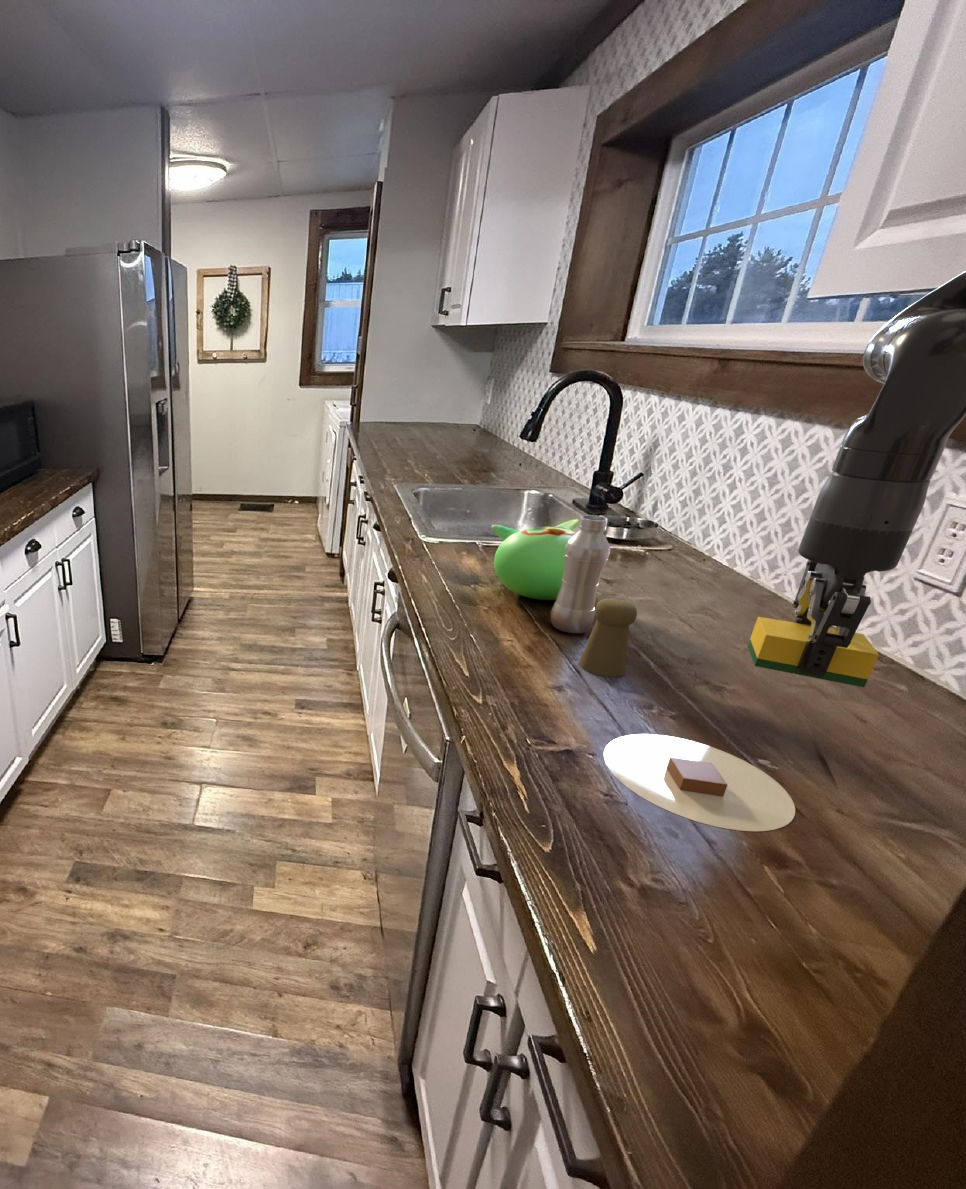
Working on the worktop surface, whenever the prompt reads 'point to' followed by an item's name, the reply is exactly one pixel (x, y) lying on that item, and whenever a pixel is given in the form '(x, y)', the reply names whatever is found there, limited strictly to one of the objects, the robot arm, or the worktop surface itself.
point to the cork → (609, 638)
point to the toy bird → (533, 559)
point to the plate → (742, 807)
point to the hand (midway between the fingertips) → (803, 660)
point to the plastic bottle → (581, 576)
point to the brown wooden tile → (696, 776)
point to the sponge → (786, 642)
